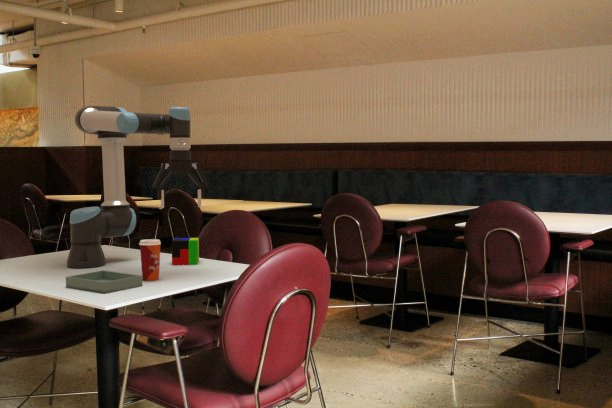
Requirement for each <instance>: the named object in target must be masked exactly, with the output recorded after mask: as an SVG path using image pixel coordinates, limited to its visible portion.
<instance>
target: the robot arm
mask: <svg viewBox="0 0 612 408" xmlns="http://www.w3.org/2000/svg"><path fill="white" fill-rule="evenodd" d="M74 115H75V116H74V124H75V126H76V128H77V129H78V130H79V131H81V132H82V133H85V134H88V135H96V136H97V140H98V142H100V144H101V152H102V177H103V178H102V179H103V197H104V201H103V202H102V203H101V204H100V207H99V206H89V207H88V206H86V207H81V208H77V209H73V210H72V211H71V212H70V214H69V215H70V217H69V225H70V228H69V229H70V232H69V233H70V248H69V252H68V254H67V255H68V257H67V259H66V267H68V268H71V269H72V268H73V269H75V268H76V269H81V268H82V269H83V268H84V269H85V268H87V269H88V268H97V267H103V266H105V265H106V264H107V263H106V262H107V260H106V259H107V258H106V256H105V254H104V251H103V248H102V239H107V238H117V237H118V238H119V237H120V238H121V237H125V236H129V235H130V234H131V233H133V231H134V230H135V228H136V225H137V215H136V213H135V210H134V209H133V208H131V207H130V205H131V204H130V202H129V201H127V198H126V177H125V158H124V156H125V154H124V143H125V142H126V140H127V136H128V135H130V134H131V135H132V134H146V135H158V136H159V135H161V136H164V135H169V149H171V150H169V163H165V162H161V165H160V170H159V172H158V174H157V176H156V178H155V180H154V182H153V184H152V188H153V189H156V191H157V198H158V200H160V207H161V209H164V208H165V190H164V189H163V188H164V187H165V185H167V183H168V182H169V181H170V180H171V178H173V176H186V175H187V176H189V178H190V179H191V180H192V181H193V183H195V184H196V186H197V187H198V188H199V189H197V207H198V208H202V199H203V198H204V197H205V189H207V188H209V187H210V185H209V183H208V182H207V179H206V177H205V175H204V174H203V171H202V170H201V165H200V163H199V162H195V163H192V151H191V150H190V149H191V147H192V146H191V110H190V108H189V107H184V106H172V107H169V112H168V113H149V112H146V113H143V112H131V111H128V110H126V109H125V108H124V107H118V106H106V105H104V106H102V105H101V106H100V105H86V106H83V107H80V108H79V109H78V110H77V111H76V113H75V114H74ZM168 168H169V169H170V171H169V173H168V175H166V176H165V178H164V179H163V180H162V177H163V175H164V173H165V170H167V169H168ZM192 168H193V169H194V170H195V171H196V173H197V174H198V177H199V178H200V180H201V182H200V180H199V179H198V178H197V177H196V176H195V175H194V174H193V172H192V171H191V169H192ZM161 180H162V182H161ZM160 182H161V183H160ZM159 183H160V184H159Z"/></svg>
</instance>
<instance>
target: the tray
mask: <svg viewBox="0 0 612 408" xmlns="http://www.w3.org/2000/svg"><path fill="white" fill-rule="evenodd" d="M138 287H143V277H142V274H141V275H140V274H135V273H134V274H131V273H127V272H126V273H125V272H119V271H118V272H117V271H109V270H99V271H91V272H86V273H81V274H73V275H69V276H65V288H68V289H69V288H70V289H75V290H82V291H88V292H94V293H100V294H110V293H114V292H119V291H124V290H129V289H134V288H138Z"/></svg>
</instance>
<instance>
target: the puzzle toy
mask: <svg viewBox="0 0 612 408" xmlns="http://www.w3.org/2000/svg"><path fill="white" fill-rule="evenodd" d="M199 241H200V238H199V237H174V238H173V239H172V240H171V265H174V266H196V265H198V264H199V262H200V242H199Z"/></svg>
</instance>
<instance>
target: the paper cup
mask: <svg viewBox="0 0 612 408" xmlns="http://www.w3.org/2000/svg"><path fill="white" fill-rule="evenodd" d="M161 244H162V242H161V240H160V239H157V238H156V239H155V238H151V239H150V238H149V239H140V241H139V242H138V245H139V249H140V251H139V252H140V253H139V254H140V263H141V275H142V281H145V282H154V281H159V279H160V262H161Z"/></svg>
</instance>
